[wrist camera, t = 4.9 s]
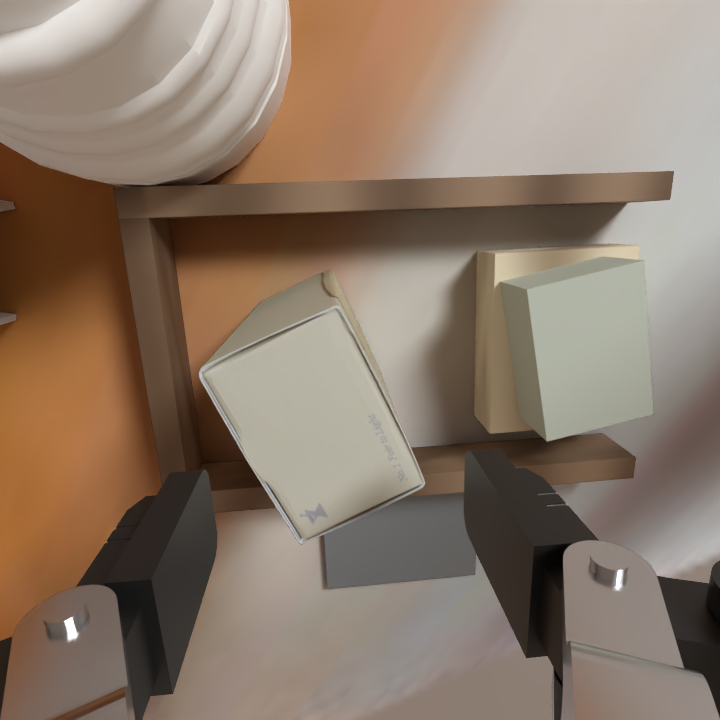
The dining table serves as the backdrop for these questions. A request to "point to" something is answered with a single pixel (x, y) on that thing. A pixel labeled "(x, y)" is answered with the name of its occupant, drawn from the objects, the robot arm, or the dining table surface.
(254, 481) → the rack
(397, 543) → the felt mat
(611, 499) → the dining table surface
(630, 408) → the offcut upper
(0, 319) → the tall grey box
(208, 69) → the honey pot
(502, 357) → the offcut lower
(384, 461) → the skincare box
